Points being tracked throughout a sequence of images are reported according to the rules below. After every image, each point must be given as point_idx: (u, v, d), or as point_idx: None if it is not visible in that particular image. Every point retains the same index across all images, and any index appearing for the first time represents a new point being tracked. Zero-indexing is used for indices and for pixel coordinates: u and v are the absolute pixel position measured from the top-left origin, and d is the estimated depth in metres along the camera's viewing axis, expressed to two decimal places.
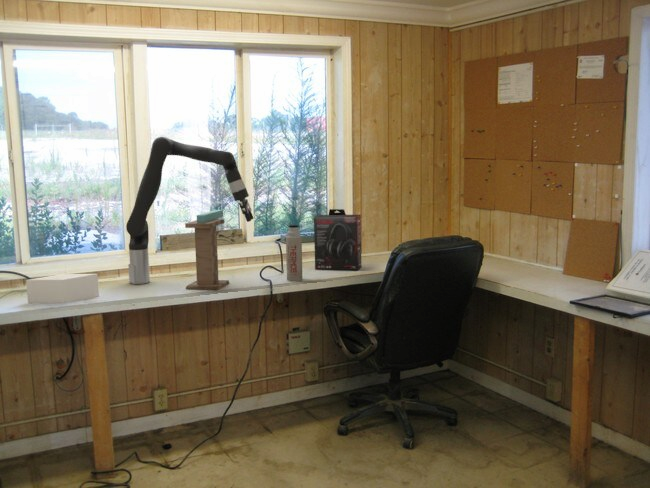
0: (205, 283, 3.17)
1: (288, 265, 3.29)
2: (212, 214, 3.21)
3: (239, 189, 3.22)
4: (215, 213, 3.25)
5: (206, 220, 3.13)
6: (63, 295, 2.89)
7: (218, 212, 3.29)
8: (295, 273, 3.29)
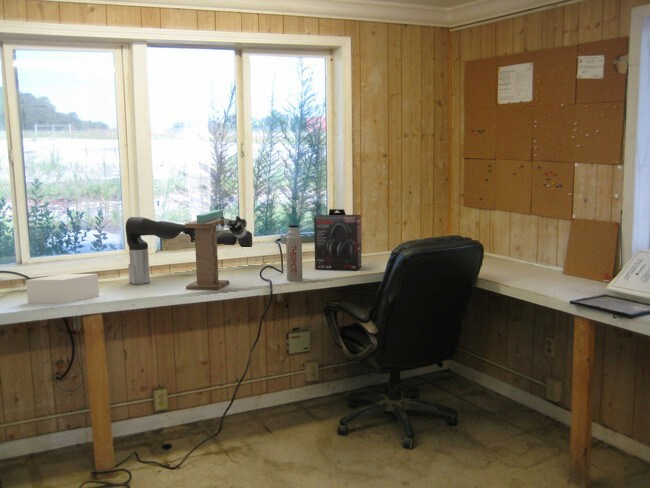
0: (205, 283, 3.17)
1: (288, 265, 3.29)
2: (212, 214, 3.21)
3: None
4: (215, 213, 3.25)
5: (206, 220, 3.13)
6: (63, 295, 2.89)
7: (218, 212, 3.29)
8: (295, 273, 3.29)
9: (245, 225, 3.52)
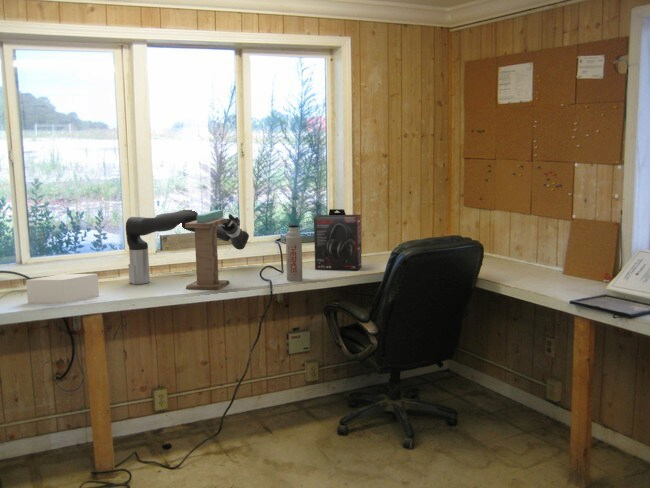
0: (205, 283, 3.17)
1: (288, 265, 3.29)
2: (212, 214, 3.21)
3: None
4: (215, 213, 3.25)
5: (206, 220, 3.13)
6: (63, 295, 2.89)
7: (218, 212, 3.29)
8: (295, 273, 3.29)
9: (238, 223, 3.41)
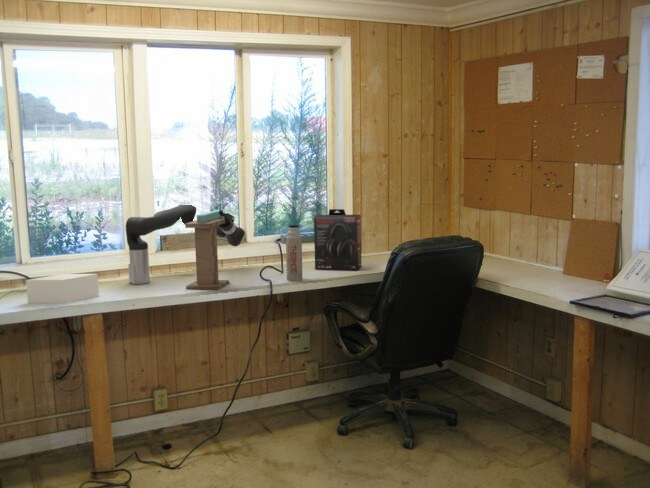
0: (205, 283, 3.17)
1: (288, 265, 3.29)
2: (212, 214, 3.21)
3: None
4: (215, 213, 3.24)
5: (206, 220, 3.13)
6: (63, 295, 2.89)
7: (218, 212, 3.28)
8: (295, 273, 3.29)
9: (231, 219, 3.35)
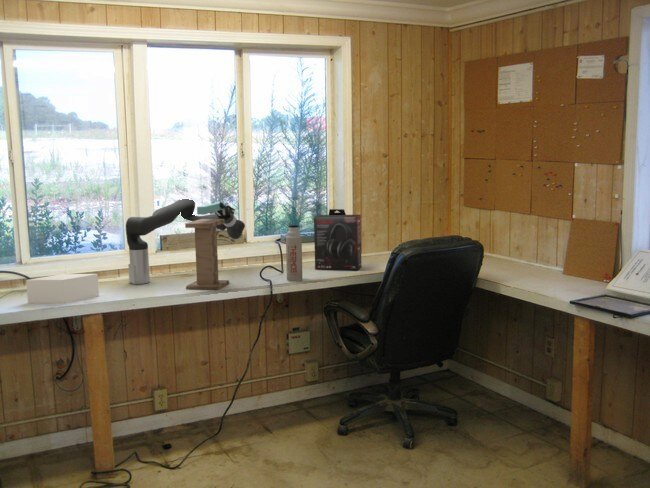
0: (205, 283, 3.17)
1: (288, 265, 3.29)
2: (212, 206, 3.20)
3: None
4: (215, 205, 3.24)
5: (206, 212, 3.13)
6: (63, 295, 2.89)
7: (218, 204, 3.28)
8: (295, 273, 3.29)
9: (231, 212, 3.35)
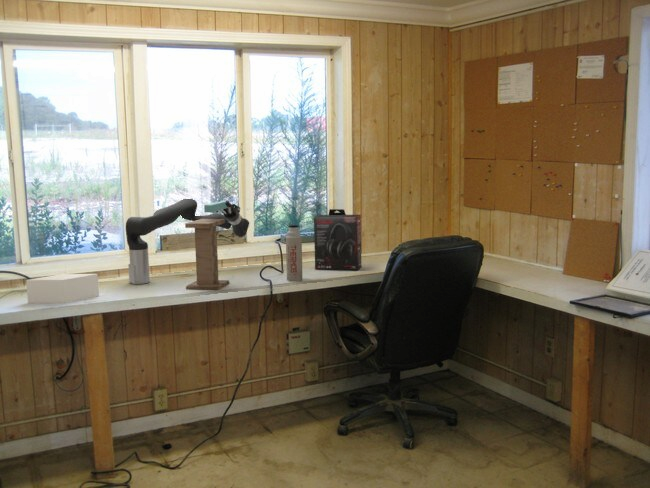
0: (205, 283, 3.17)
1: (288, 265, 3.29)
2: (219, 204, 3.29)
3: None
4: (222, 203, 3.33)
5: (213, 210, 3.21)
6: (63, 295, 2.89)
7: (225, 203, 3.37)
8: (295, 273, 3.29)
9: (237, 210, 3.44)
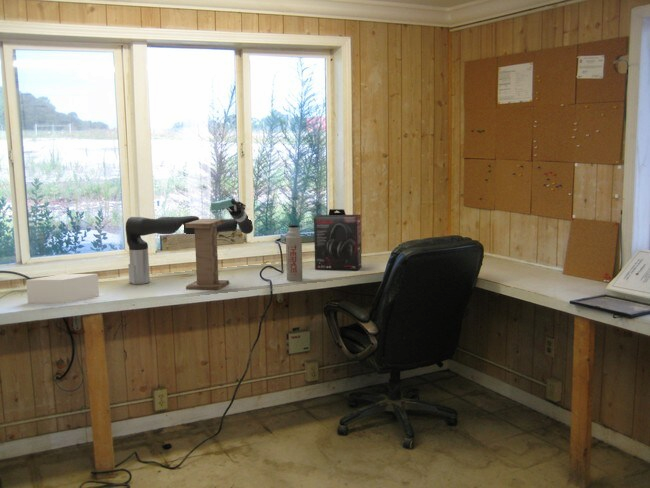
0: (205, 283, 3.17)
1: (288, 265, 3.29)
2: (225, 202, 3.37)
3: None
4: (228, 201, 3.41)
5: (220, 208, 3.30)
6: (63, 295, 2.89)
7: (230, 200, 3.45)
8: (295, 273, 3.29)
9: (242, 207, 3.52)
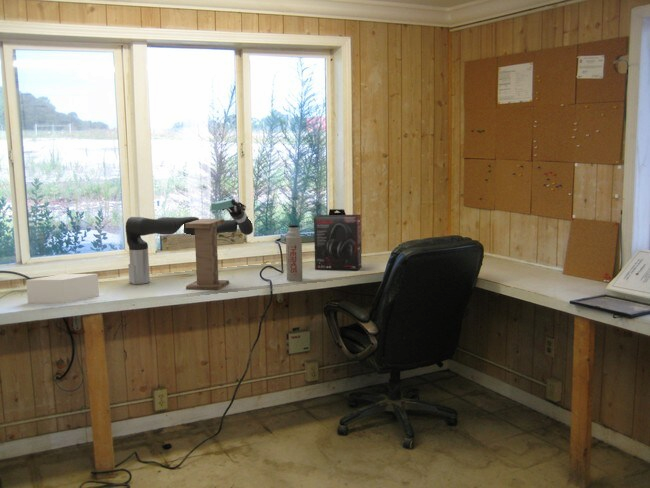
0: (205, 283, 3.17)
1: (288, 265, 3.29)
2: (225, 203, 3.37)
3: None
4: (228, 202, 3.41)
5: (220, 208, 3.30)
6: (63, 295, 2.89)
7: (231, 201, 3.45)
8: (295, 273, 3.29)
9: (243, 208, 3.52)
